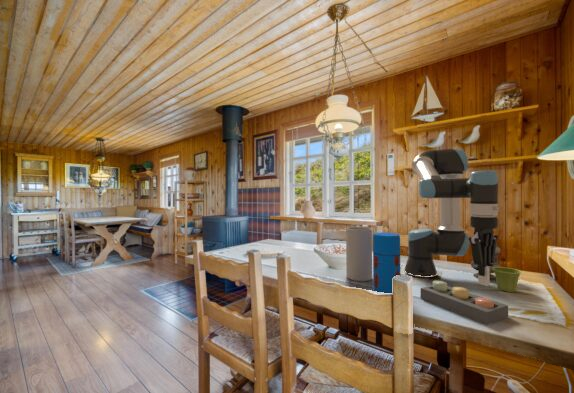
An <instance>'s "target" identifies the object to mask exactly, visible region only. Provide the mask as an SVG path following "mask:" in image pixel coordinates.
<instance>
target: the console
mask: <svg viewBox="0 0 574 393" xmlns="http://www.w3.org/2000/svg"><path fill="white" fill-rule="evenodd" d="M453 287H454V286H453ZM453 287H452V286H449V285H447V292H443V293H442V292H439V291H436V290H433V284H432V285H429V286H427V285H426V286H423V287H420V299H422V300H424V301H427V302H430V303H432V304H435V305H436V306H437V305H438V306H439V307H442V308H444V309H446V310H449V311H452V312H455V313H456V314H457V313H458V314H460V315H463V316H464V317H467V318H470V319H472V320H475V321H477V322H480V323H482V324H485V325H487V326H488V325H491V324H493V323H496V322H498V321H501V320H504V319H506V318H509V305H508V304H506V303H502V302H499V301H496V300H492V299H491V300H492V301H493V302H494V308H491V309H487V308H484V307H482V306H479V305H476V304H475V299H476V298H486V297H484V296H481V295H477V294H475V293H471V292H469V299H467V300H462V299H459V298H456V297H453V296H452V288H453ZM486 299H488V298H486Z"/></svg>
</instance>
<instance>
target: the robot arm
mask: <svg viewBox="0 0 574 393" xmlns="http://www.w3.org/2000/svg"><path fill="white" fill-rule="evenodd" d="M411 162H412V163H411V168H412V171H413V172H414V173H415V174H416V175H417V176H418V179H419V182H418V196H419V197H420V198H422V199H424V198H425V199H439V205H440V206H439V207H440V208H439V210H440V214H439V216H440V217H439V218H440V222H439V223H440V225H439V226H438V227H437V228H436V231H434V230H433V229H432V228H418V229H412V230H410V231H408V233H407V244H408V245H407V261H406V264H405V266H404V272H405V271H406V272H407V273H411V274H413V275H421V276H431V275H436V274H437V275H438V270H437V268H436V265H435V263H434V256H436V255H437V256H451V257H464V256H465V255H466V254H467V253H468V250H469V244H470V249H472V250H471V254H472V261H473V262H474V264H475V265H478V271H477V273H478V278H477V280H478V281H477V282H478V285H481V286H485V287H488V286H490V281H491V280H490V266H492V267H493V264H491V263H494V258H495V250H496V244H497V242H498V239H499V235H498V234H495V231H494V229H498V227H499V218H498V217H497V216H498V215H499V210H500V209H499V176H498V175H499V174H498V172H497V171H496V170H475V171H472V172H470V174H469V177H467V178H466V177H465V178H464V177H463V176H464V173H465V172H466V171H468V170H469V169H468V167H469V159H468V155H467V153H466V151H465V149H463V148H443V149H428V150H425V151H423V152H420V153H419V154H417V155H416V156H415V157H414V159H413V160H412V161H411ZM461 199H470V203H469V204H470V206H469V210H470V212H469V214H470V215H471V216H470V218H469V219H470V220H469V221H470V222H469V223H470V224H469V225H470V227H471V228H474V230H473V236H472V237H471V236H469V234H468V233H466V232H465V229H464V228H463V227H462V226H461Z"/></svg>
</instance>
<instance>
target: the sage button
mask: <svg viewBox="0 0 574 393" xmlns="http://www.w3.org/2000/svg"><path fill="white" fill-rule="evenodd" d="M432 285H433V290H436V291H439V292H442V293H443V292H447V286H448V283H447V282H446V281H443V280H433V281H432Z"/></svg>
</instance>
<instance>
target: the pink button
mask: <svg viewBox="0 0 574 393" xmlns="http://www.w3.org/2000/svg"><path fill="white" fill-rule="evenodd" d="M493 301H494V300H493ZM493 301H492V299H491V298H487V299H486V297H484V298H476V299H475V304H476V305H479V306H482V307H484V308H487V309H491V308H494V302H493Z"/></svg>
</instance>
